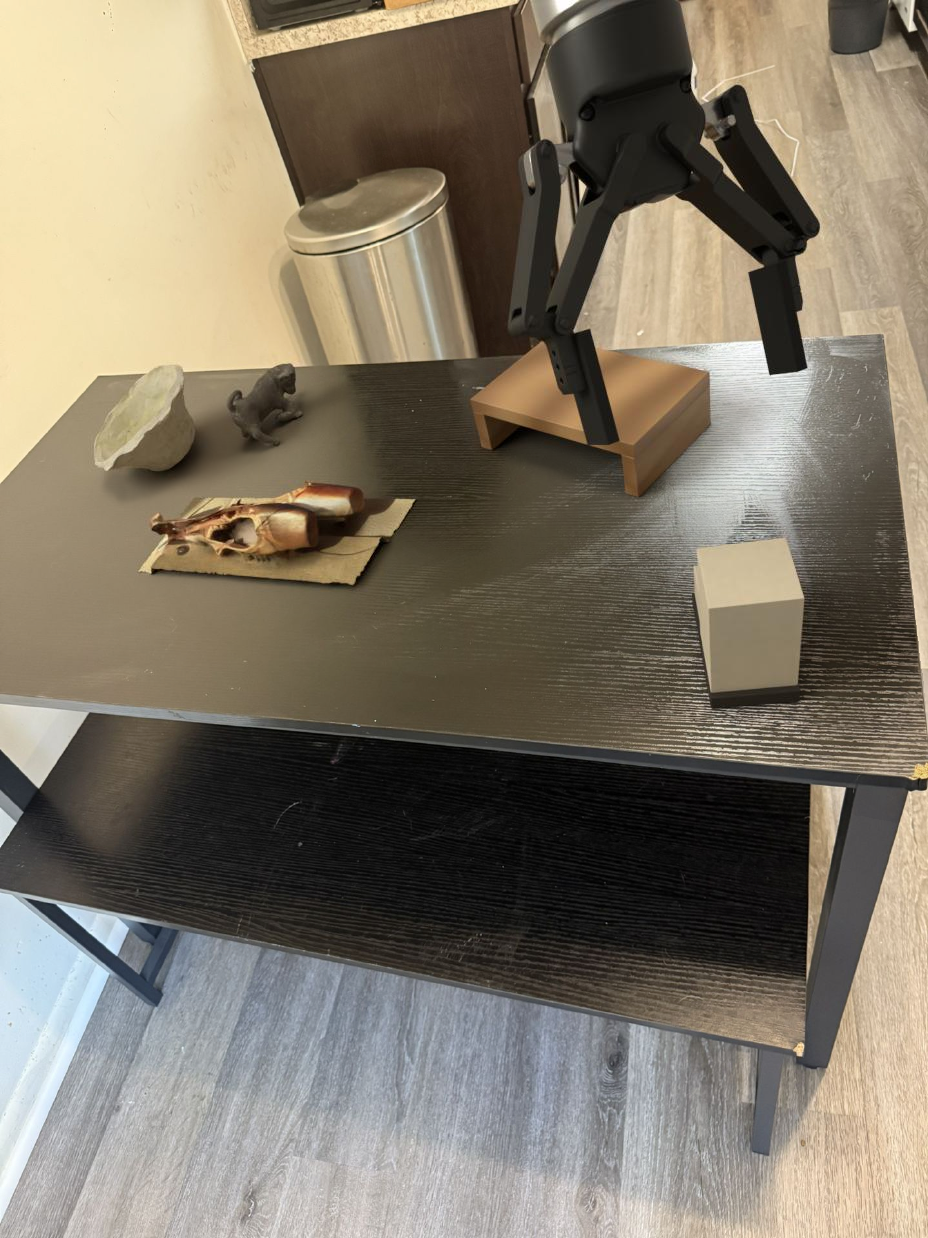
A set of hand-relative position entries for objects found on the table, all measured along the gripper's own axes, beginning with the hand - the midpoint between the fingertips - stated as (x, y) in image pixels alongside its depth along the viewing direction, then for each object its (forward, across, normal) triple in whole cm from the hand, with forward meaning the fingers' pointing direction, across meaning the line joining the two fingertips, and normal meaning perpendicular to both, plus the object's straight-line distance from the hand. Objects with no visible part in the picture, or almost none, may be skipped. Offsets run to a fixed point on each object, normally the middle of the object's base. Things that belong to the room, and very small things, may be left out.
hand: (698, 407), depth 53 cm
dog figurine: (-6, +16, -64) cm, 66 cm away
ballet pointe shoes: (+5, +24, -44) cm, 51 cm away
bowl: (-6, +31, -68) cm, 75 cm away
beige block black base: (+20, -4, -7) cm, 22 cm away
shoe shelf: (+5, -10, -36) cm, 38 cm away
